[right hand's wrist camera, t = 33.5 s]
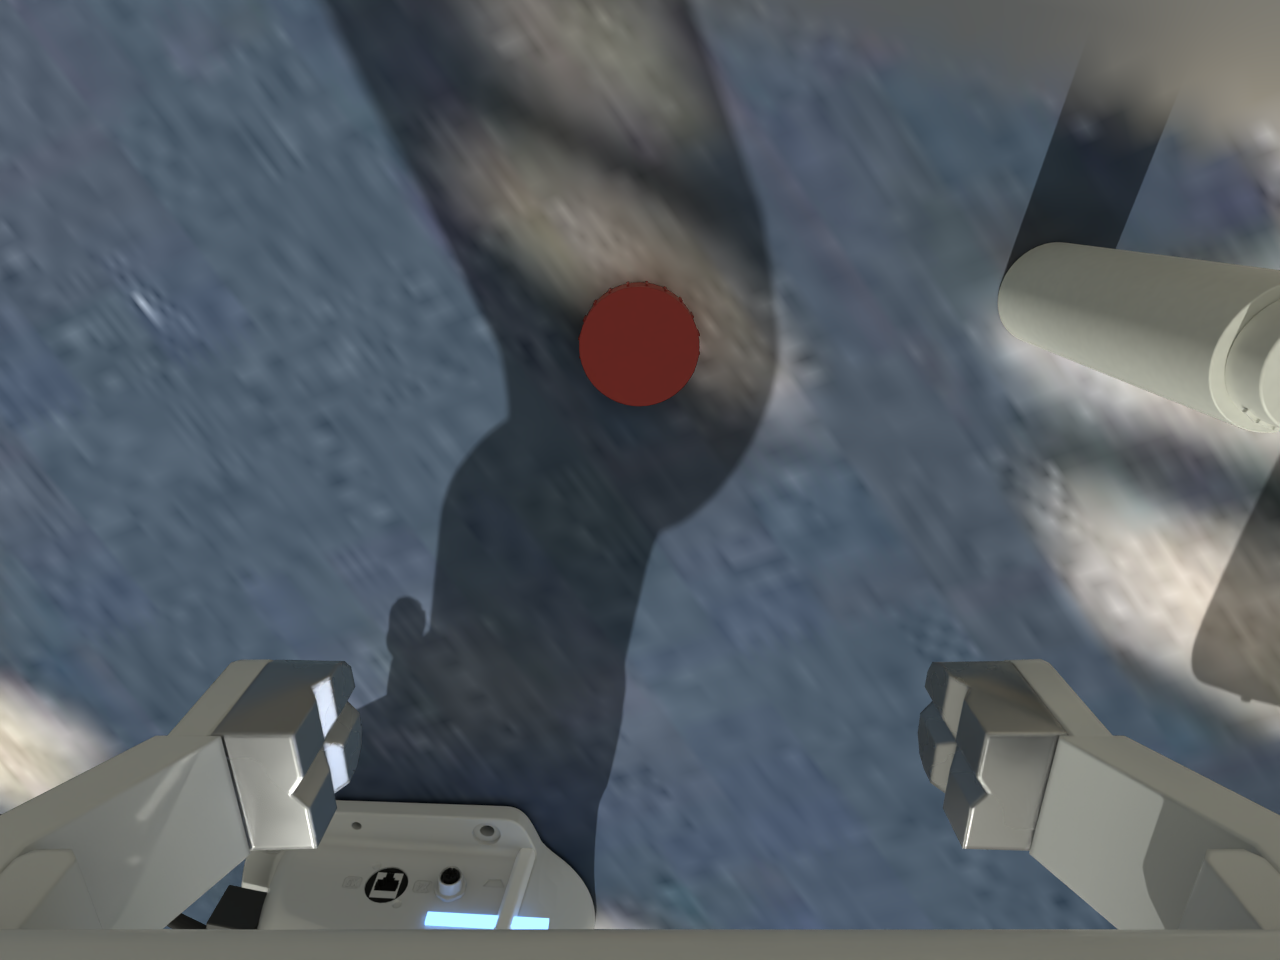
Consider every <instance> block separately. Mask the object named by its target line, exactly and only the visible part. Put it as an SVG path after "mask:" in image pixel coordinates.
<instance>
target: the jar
mask: <svg viewBox="0 0 1280 960" xmlns="http://www.w3.org/2000/svg"><path fill="white" fill-rule="evenodd" d="M998 310H999V315H1000V318H1001V321H1002V323H1003V325H1004V326H1005V328H1006V329H1007V330H1008V331H1009V332H1010V333H1011V334H1012V335H1013V336H1014V337H1016V338H1018V339H1020V340H1021V341H1024V342H1026V343H1029V344H1031V345H1034V346H1036V347H1039V348H1041V349H1044V350H1046V351H1049V352H1051V353H1054V354H1056V355H1059V356H1061V357H1064V358H1066V359H1069V360H1071V361H1074V362H1076V363H1079V364H1081V365H1084V366H1086V367H1089V368H1091V369H1094V370H1096V371H1099V372H1101V373H1104V374H1106V375H1109V376H1111V377H1114V378H1116V379H1119V380H1121V381H1124V382H1126V383H1129V384H1131V385H1134V386H1136V387H1139V388H1141V389H1144V390H1146V391H1149V392H1151V393H1154V394H1156V395H1159V396H1161V397H1164V398H1166V399H1169V400H1171V401H1174V402H1176V403H1179V404H1181V405H1184V406H1186V407H1189V408H1191V409H1194V410H1196V411H1199V412H1201V413H1204V414H1206V415H1209V416H1211V417H1214V418H1216V419H1219V420H1221V421H1224V422H1226V423H1229V424H1231V425H1234V426H1236V427H1239V428H1241V429H1244V430H1247V431H1252V432H1259V433H1272V432H1280V270H1273V269H1266V268H1258V267H1250V266H1242V265H1235V264H1227V263H1219V262H1211V261H1204V260H1196V259H1188V258H1181V257H1173V256H1165V255H1157V254H1150V253H1142V252H1134V251H1126V250H1119V249H1111V248H1103V247H1095V246H1088V245H1080V244H1072V243H1064V242H1053V243H1047V244H1043V245H1040V246H1038V247H1035V248H1033V249H1031V250H1030V251H1028V252H1027V253H1025V254H1024V255H1022V256H1021V257H1020V258H1019V259H1018V260H1017V261H1016V262H1015V263H1014V264H1013V265H1012V266H1011V268H1010V269H1009V270H1008V272H1007V273H1006V275H1005V277H1004V279H1003V281H1002V284H1001V286H1000V290H999V295H998Z"/></svg>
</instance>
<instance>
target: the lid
mask: <svg viewBox="0 0 1280 960" xmlns="http://www.w3.org/2000/svg"><path fill="white" fill-rule="evenodd" d="M693 318H694V316H693V313H692V312H689V310H688V308H687V307H686V305H685V304H684V303H683V301H682V298H681V297H679V298H678V297H677V296H676V295H675V294H673V293H672V292H670V291H669V290H667V288H666V287H665V286H664V287H661V286H658V285H655V284H650V283H648V281H646V283H642V282H636V283H629V282H627V283H626V284H623V285H621V286H618V287H615V288H614V289H611V288H610V289H609V290H608V292H607V293H605V294H604V295H603V296H602V297H600V298H599V299H598V300H595V301H594V303H593V306H592V308H591V309H590V311H589V313H588V315H587V316H586V315H585V317H584V319H583V322H584V324H583V327H582V330H581V333H580V335H579V338H578V340H579V352H580V356H579V357H580V359H581V363H582V366H583V368H584V371H585V373H586V375H587V377H588V378H589V380H590V381H591V383H592V384H593V385H594V386H595V387H596V388H597V389H598V390H599V391H600V392H601V393H602V394H604V395H605V396H607V397H608V398H610V399H612V400H614V401H616V402H619V403H622V404H625V405H631V406H648V405H653V404H657V403H660V402H663V401H665V400H667V399H669V398H670V397H672V396H673V395H675V394H676V393H677V392H679V391H680V390H681V389H682V388H683V387H684V386H685V385H686V383H687V382H688V381H689V379H690V378H691V376H692V374H693V373H694V370H695V367H696V365H697V361H698V356H699V355H700V352H699V337H698V336H700V334H699V331H698V329H697V328H696V325H695V323H694V320H693Z"/></svg>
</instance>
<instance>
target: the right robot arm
mask: <svg viewBox="0 0 1280 960" xmlns="http://www.w3.org/2000/svg"><path fill="white" fill-rule="evenodd" d="M354 688H355V683H354V679H353V674H352V669H351V666H349V665H348V664H347V663H346V662H345V661H312V660H238V661H235V662H232V663H230V664H229V665H228V667H227V668H226V669H225V670H224V671H223V672H222V674H221V675H220V676H219V677H218V678H217V679H216V680H215V682H214V683H213V684H212V685H211V686H210V687H209V689H208V690H207V691H206V692H205V693H204V694H203V695H202V697H201V698H200V699H199V700H198V701H197V702H196V703H195V705H194V706H193V707H192V708H191V709H190V710H189V712H188V713H187V714H186V715H185V716H184V717H183V718H182V720H181V721H180V722H179V723H178V724H177V725H176V726H175V728H174V729H173V730H172V731H171V732H170V733H169V735H168V736H154V737H152V738H150V739H149V740H147V741H145V742H143V743H141V744H139V745H137V746H135V747H133V748H131V749H129V750H127V751H125V752H123V753H121V754H119V755H117V756H115V757H113V758H111V759H109V760H107V761H105V762H104V763H102V764H100V765H98V766H96V767H94V768H92V769H90V770H88V771H86V772H84V773H82V774H80V775H78V776H76V777H74V778H72V779H70V780H68V781H66V782H64V783H62V784H60V785H59V786H57V787H55V788H53V789H51V790H49V791H47V792H45V793H43V794H41V795H39V796H37V797H35V798H33V799H31V800H29V801H27V802H25V803H23V804H21V805H19V806H17V807H15V808H13V809H12V810H10V811H8V812H6V813H4V814H2V815H0V960H1280V815H1278V814H1276V813H1274V812H1272V811H1270V810H1268V809H1266V808H1264V807H1262V806H1260V805H1258V804H1256V803H1254V802H1252V801H1250V800H1249V799H1247V798H1245V797H1243V796H1241V795H1239V794H1237V793H1235V792H1233V791H1231V790H1229V789H1227V788H1225V787H1223V786H1221V785H1219V784H1217V783H1215V782H1213V781H1211V780H1210V779H1208V778H1206V777H1204V776H1202V775H1200V774H1198V773H1196V772H1194V771H1192V770H1190V769H1188V768H1186V767H1184V766H1182V765H1180V764H1178V763H1176V762H1174V761H1172V760H1170V759H1169V758H1167V757H1165V756H1163V755H1161V754H1159V753H1157V752H1155V751H1153V750H1151V749H1149V748H1147V747H1145V746H1143V745H1141V744H1139V743H1137V742H1135V741H1133V740H1131V739H1130V738H1128V737H1126V736H1112V735H1111V733H1110V732H1109V731H1108V730H1107V729H1106V728H1105V726H1104V725H1103V724H1102V723H1101V722H1100V721H1099V720H1098V718H1097V717H1096V716H1095V715H1094V714H1093V713H1092V712H1091V710H1090V709H1089V708H1088V707H1087V706H1086V705H1085V703H1084V702H1083V701H1082V700H1081V699H1080V698H1079V697H1078V695H1077V694H1076V693H1075V692H1074V691H1073V690H1072V689H1071V687H1070V686H1069V685H1068V684H1067V683H1066V682H1065V680H1064V679H1063V678H1062V677H1061V676H1060V675H1059V674H1058V672H1057V671H1056V670H1055V669H1054V668H1053V667H1052V666H1051V664H1049V663H1048V662H1046V661H1044V660H1041V659H1029V660H1005V661H977V662H932V664H931V666H930V668H929V670H928V672H927V677H926V683H925V688H926V690H927V692H928V693H929V695H930V697H931V699H932V702H931V703H930V704H929V705H928V706H927V707H926V708H925V709H924V710H923V711H922V712H921V713H920V720H919V727H918V742H919V753H920V757H921V760H922V764H923V768H924V770H925V772H926V774H927V776H928V779H929V781H930V783H932V784H933V785H934V786H936V787H937V788H939V789H940V790H941V791H943V792H944V793H945V799H944V804H943V810H944V812H945V814H946V816H947V818H948V820H949V822H950V824H951V826H952V828H953V830H954V832H955V834H956V836H957V838H958V840H959V842H960V844H961V846H962V848H963V849H994V850H1030V853H1029V854H1030V855H1032V856H1033V857H1034V858H1035V859H1036V860H1037V861H1039V862H1040V863H1041V864H1042V865H1043V866H1044V867H1046V868H1047V869H1048V870H1049V871H1050V872H1051V873H1053V874H1054V875H1055V876H1056V877H1057V878H1059V879H1060V880H1061V881H1062V882H1063V883H1064V884H1066V885H1067V886H1068V887H1069V888H1070V889H1071V890H1073V891H1074V892H1075V893H1076V894H1077V895H1078V896H1080V897H1081V898H1082V899H1083V900H1084V901H1086V902H1087V903H1088V904H1089V905H1090V906H1091V907H1093V908H1094V909H1095V910H1096V911H1097V912H1098V913H1100V914H1101V915H1102V916H1103V917H1104V918H1105V919H1107V920H1108V921H1109V922H1110V923H1111V924H1113V925H1114V926H1115V927H1116V928H1117V929H1096V930H744V929H594V926H595V910H594V905H593V901H592V898H591V895H590V893H589V891H588V889H587V887H586V885H585V884H584V882H583V881H582V879H581V878H580V877H579V875H578V874H577V873H576V872H575V871H574V870H573V869H572V868H571V867H570V866H569V865H568V864H567V863H566V862H565V861H564V860H562V859H561V858H560V857H559V856H557V855H556V854H555V853H553V852H552V851H551V850H550V849H549V848H547V847H546V846H545V845H544V844H543V842H542V841H541V839H540V837H539V835H538V833H537V832H536V830H535V828H534V826H533V824H532V823H531V821H530V820H529V818H528V817H527V816H526V815H525V814H524V813H523V812H522V811H521V810H519V809H517V808H514V807H509V806H487V805H459V804H430V803H402V802H374V801H345V800H336V799H335V793H336V792H337V791H339V790H340V789H341V788H343V787H344V786H345V785H347V784H348V783H350V781H351V778H352V776H353V774H354V772H355V770H356V768H357V765H358V760H359V755H360V751H361V746H362V725H361V719H360V713H359V712H358V711H357V710H356V709H355V708H354V707H353V706H352V705H351V704H350V703H349V702H348V699H349V697H350V695H351V693H352V692H353V690H354ZM488 826H491V827H488ZM245 858H246V860H245V865H244V870H243V877H242V887H237V886H232V885H229V886H228V888H227V889H226V891H225V893H224V894H223V896H222V898H221V900H220V901H219V903H218V905H217V906H216V908H215V910H214V911H213V913H212V915H211V917H210V918H209V920H208V922H207V925H204V924H202V923H200V922H198V921H196V920H194V919H192V918H190V917H188V916H186V915H184V914H182V912H183V911H184V910H185V909H186V908H188V907H189V906H190V905H191V904H192V903H194V902H195V901H196V900H197V899H198V898H199V897H201V896H202V895H203V894H204V893H205V892H206V891H208V890H209V889H210V888H211V887H212V886H214V885H215V884H216V883H217V882H218V881H219V880H221V879H222V878H223V877H224V876H225V875H226V874H228V873H229V872H230V871H231V870H232V869H234V868H235V867H236V866H237V865H238V864H239V863H241V862H242V861H243V860H244V859H245ZM166 925H167V926H168V927H170V928H172V929H163V928H164V927H165V926H166Z"/></svg>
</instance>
